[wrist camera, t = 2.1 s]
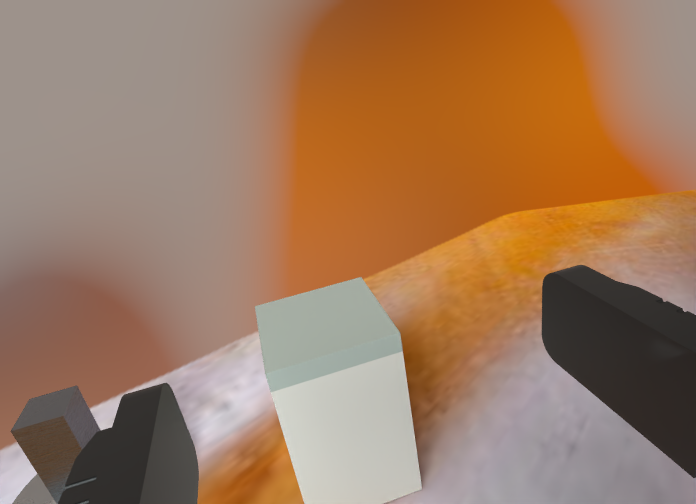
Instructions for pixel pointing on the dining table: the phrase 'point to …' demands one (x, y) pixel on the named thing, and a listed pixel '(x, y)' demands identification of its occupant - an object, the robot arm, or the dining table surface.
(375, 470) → the pale green block
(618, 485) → the dining table surface
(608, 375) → the robot arm
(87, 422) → the grey post on dish
